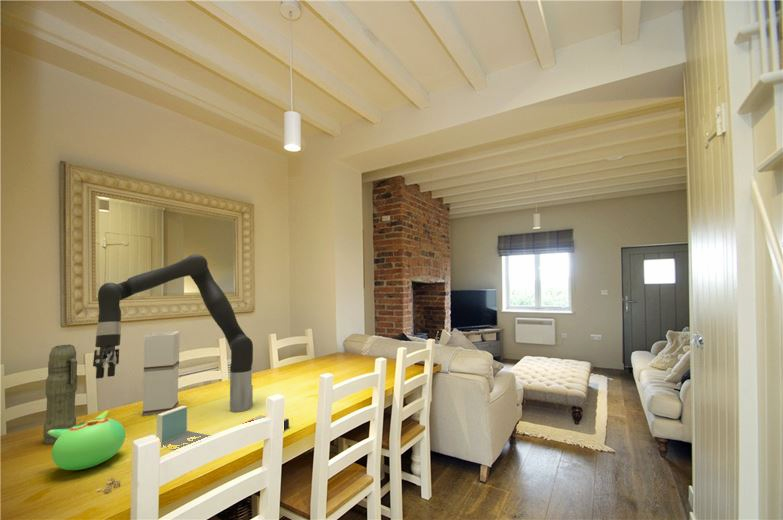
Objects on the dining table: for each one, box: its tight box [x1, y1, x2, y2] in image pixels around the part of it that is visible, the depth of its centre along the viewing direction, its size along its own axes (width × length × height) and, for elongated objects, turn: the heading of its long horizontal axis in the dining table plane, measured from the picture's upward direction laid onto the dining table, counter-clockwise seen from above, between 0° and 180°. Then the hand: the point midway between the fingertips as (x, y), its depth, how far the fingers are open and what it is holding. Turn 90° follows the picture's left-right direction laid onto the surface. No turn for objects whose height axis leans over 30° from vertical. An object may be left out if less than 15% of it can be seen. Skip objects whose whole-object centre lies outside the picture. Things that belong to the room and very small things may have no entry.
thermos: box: [42, 344, 78, 446], centre depth 134 cm, size 9×12×35 cm
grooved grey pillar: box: [142, 331, 181, 417], centre depth 163 cm, size 11×11×35 cm
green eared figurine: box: [47, 410, 126, 471], centre depth 113 cm, size 18×17×15 cm
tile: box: [156, 405, 188, 444], centre depth 131 cm, size 3×10×10 cm, turn 157°
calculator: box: [242, 415, 290, 432], centre depth 137 cm, size 11×4×15 cm
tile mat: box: [160, 430, 211, 451], centre depth 129 cm, size 16×13×1 cm
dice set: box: [96, 477, 121, 495], centre depth 99 cm, size 5×5×2 cm
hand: (105, 377), depth 134 cm, fingers open, 8 cm apart
